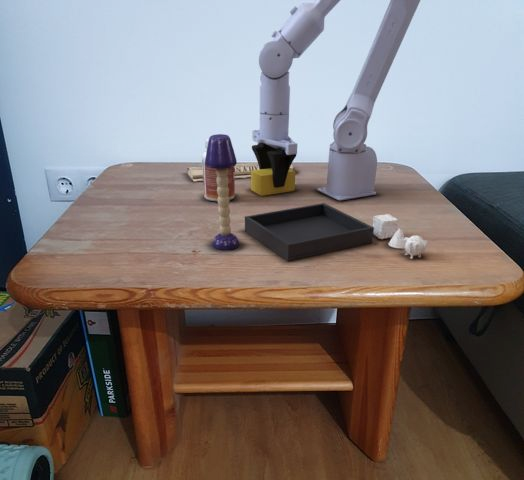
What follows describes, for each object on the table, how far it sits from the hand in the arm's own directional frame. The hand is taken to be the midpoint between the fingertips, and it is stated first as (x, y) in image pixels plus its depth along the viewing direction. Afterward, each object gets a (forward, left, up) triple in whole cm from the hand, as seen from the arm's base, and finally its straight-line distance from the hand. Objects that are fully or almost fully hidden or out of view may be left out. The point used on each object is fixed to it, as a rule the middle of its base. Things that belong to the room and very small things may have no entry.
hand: (272, 183), depth 110 cm
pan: (+8, +25, -1) cm, 27 cm away
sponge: (0, 0, -1) cm, 1 cm away
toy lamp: (+22, +22, -2) cm, 32 cm away
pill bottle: (+12, -1, -2) cm, 12 cm away
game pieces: (-3, +35, -2) cm, 36 cm away
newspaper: (0, -15, -2) cm, 15 cm away
